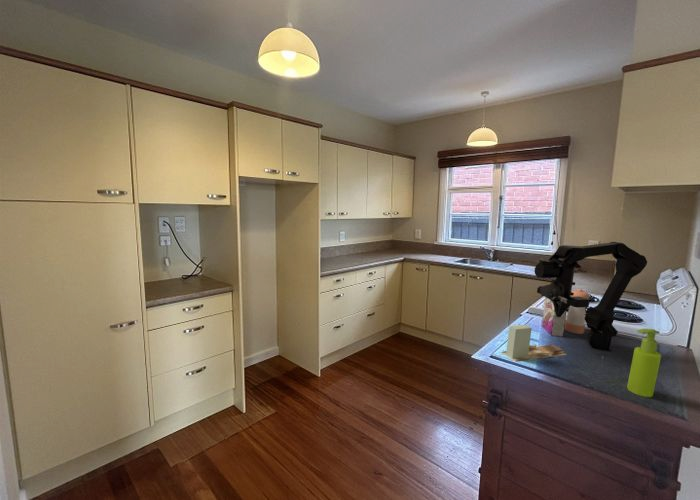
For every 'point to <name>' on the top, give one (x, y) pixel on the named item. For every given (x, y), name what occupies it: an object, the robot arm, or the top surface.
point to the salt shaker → (576, 315)
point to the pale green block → (518, 341)
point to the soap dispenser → (645, 365)
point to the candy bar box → (553, 319)
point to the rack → (539, 352)
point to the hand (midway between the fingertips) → (558, 316)
